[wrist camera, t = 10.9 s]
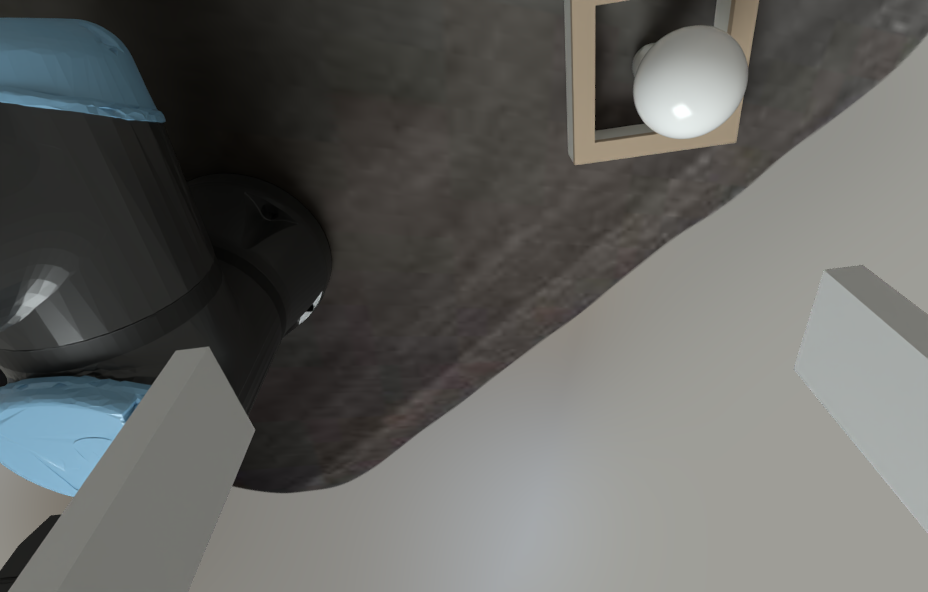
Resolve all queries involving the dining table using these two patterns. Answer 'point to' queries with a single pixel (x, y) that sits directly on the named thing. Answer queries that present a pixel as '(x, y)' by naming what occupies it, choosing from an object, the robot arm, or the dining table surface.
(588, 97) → the square frame
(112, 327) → the robot arm
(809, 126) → the dining table surface
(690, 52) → the lightbulb
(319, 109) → the dining table surface
